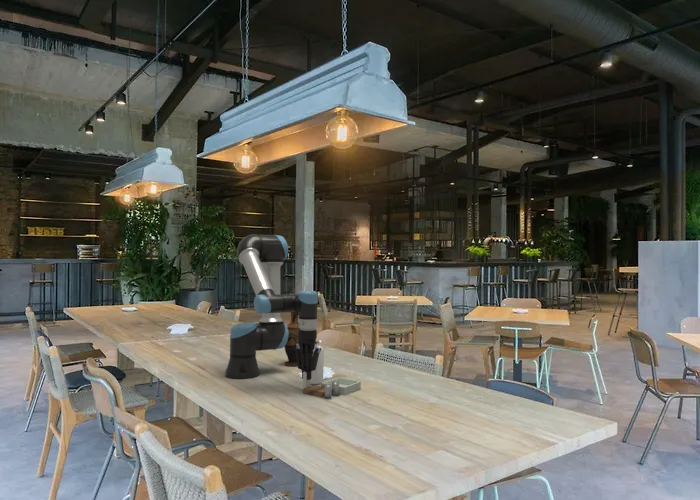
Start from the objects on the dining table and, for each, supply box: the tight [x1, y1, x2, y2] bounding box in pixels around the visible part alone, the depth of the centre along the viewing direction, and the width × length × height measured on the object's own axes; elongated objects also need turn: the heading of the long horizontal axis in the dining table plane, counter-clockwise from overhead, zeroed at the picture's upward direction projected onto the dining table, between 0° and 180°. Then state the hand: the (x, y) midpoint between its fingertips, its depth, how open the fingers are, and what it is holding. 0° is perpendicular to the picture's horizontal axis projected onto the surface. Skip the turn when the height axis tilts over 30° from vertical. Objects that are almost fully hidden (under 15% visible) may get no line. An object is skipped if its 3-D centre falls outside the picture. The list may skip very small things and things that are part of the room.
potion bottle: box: [310, 339, 325, 385], centre depth 217 cm, size 8×8×18 cm
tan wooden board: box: [302, 384, 325, 399], centre depth 200 cm, size 10×7×2 cm
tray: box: [320, 377, 362, 396], centre depth 206 cm, size 12×12×3 cm
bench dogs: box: [323, 382, 340, 400], centre depth 196 cm, size 3×8×5 cm, turn 147°
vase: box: [283, 312, 299, 367], centre depth 252 cm, size 11×11×30 cm
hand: (306, 387), depth 203 cm, fingers closed
